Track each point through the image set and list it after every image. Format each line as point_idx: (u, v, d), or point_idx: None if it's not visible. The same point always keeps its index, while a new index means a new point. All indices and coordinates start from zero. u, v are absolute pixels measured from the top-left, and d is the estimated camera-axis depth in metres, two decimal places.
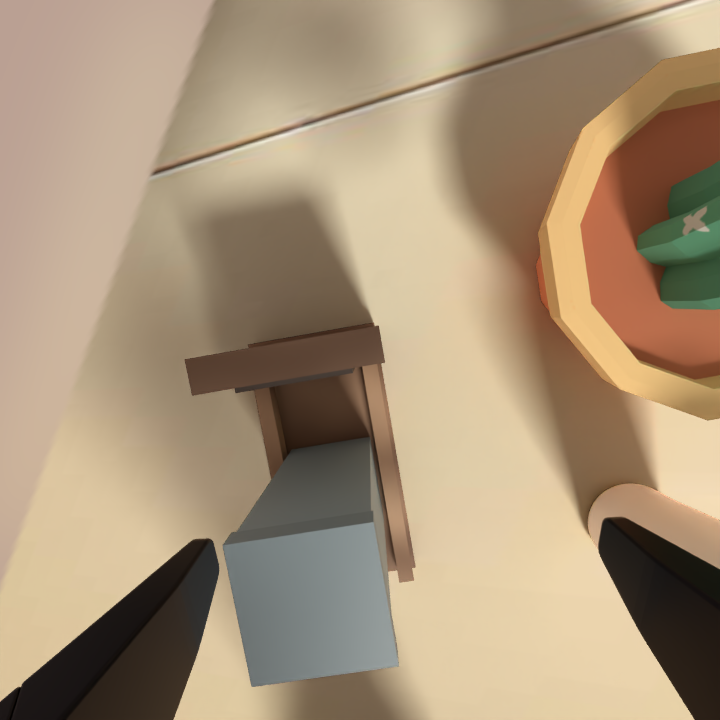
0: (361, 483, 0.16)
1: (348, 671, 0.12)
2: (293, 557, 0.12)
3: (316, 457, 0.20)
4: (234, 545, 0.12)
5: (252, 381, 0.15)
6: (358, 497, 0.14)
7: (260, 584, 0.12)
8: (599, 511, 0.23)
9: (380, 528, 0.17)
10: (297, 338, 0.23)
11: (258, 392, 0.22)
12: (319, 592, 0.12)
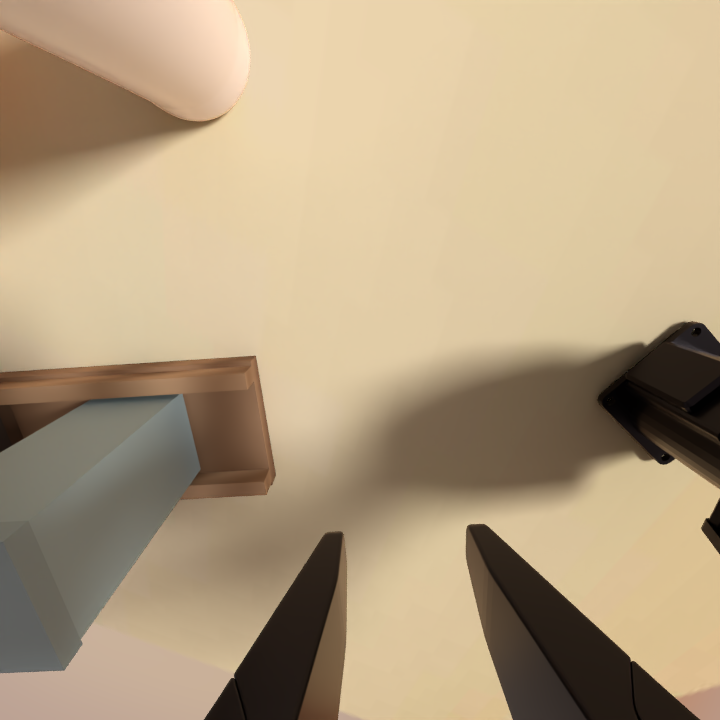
0: None
1: (21, 590, 0.10)
2: None
3: None
4: None
5: None
6: None
7: None
8: (159, 107, 0.16)
9: (66, 450, 0.15)
10: None
11: None
12: None
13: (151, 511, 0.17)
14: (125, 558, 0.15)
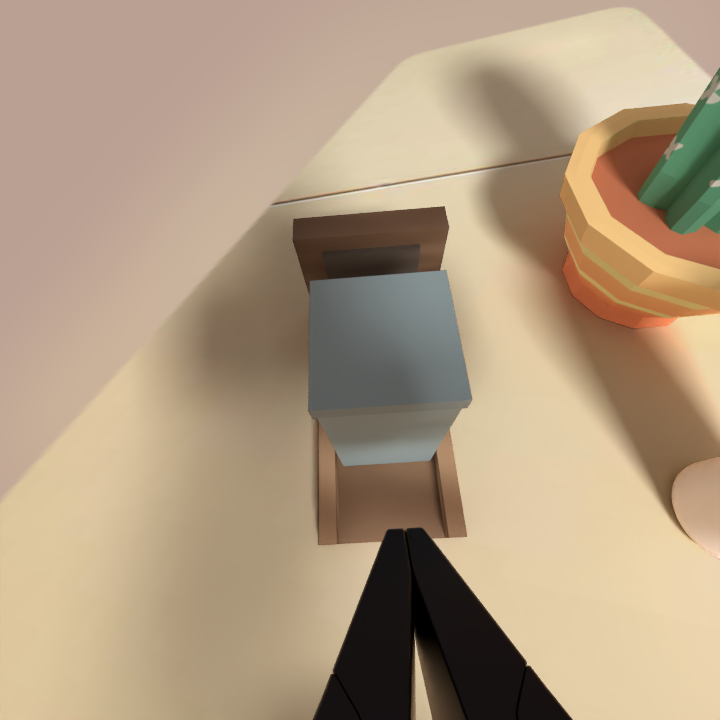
0: None
1: (416, 400, 0.11)
2: (371, 292, 0.13)
3: None
4: (319, 283, 0.14)
5: (342, 233, 0.19)
6: None
7: (337, 313, 0.13)
8: (682, 483, 0.20)
9: None
10: None
11: None
12: (392, 322, 0.13)
13: (358, 446, 0.17)
14: (341, 435, 0.15)
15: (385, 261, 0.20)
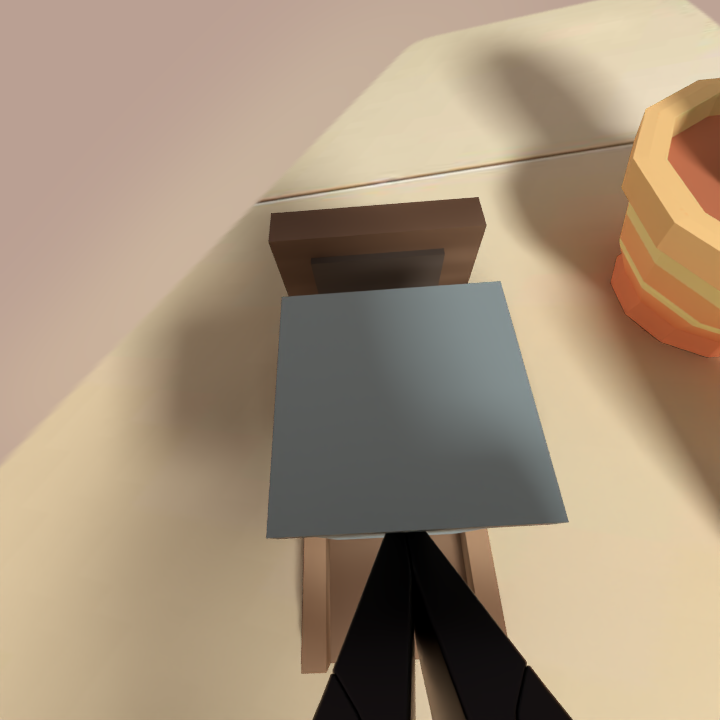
0: None
1: (464, 521, 0.06)
2: (380, 317, 0.08)
3: None
4: (297, 300, 0.09)
5: (337, 232, 0.13)
6: None
7: (323, 352, 0.08)
8: None
9: None
10: None
11: None
12: (415, 369, 0.08)
13: None
14: None
15: (396, 271, 0.15)
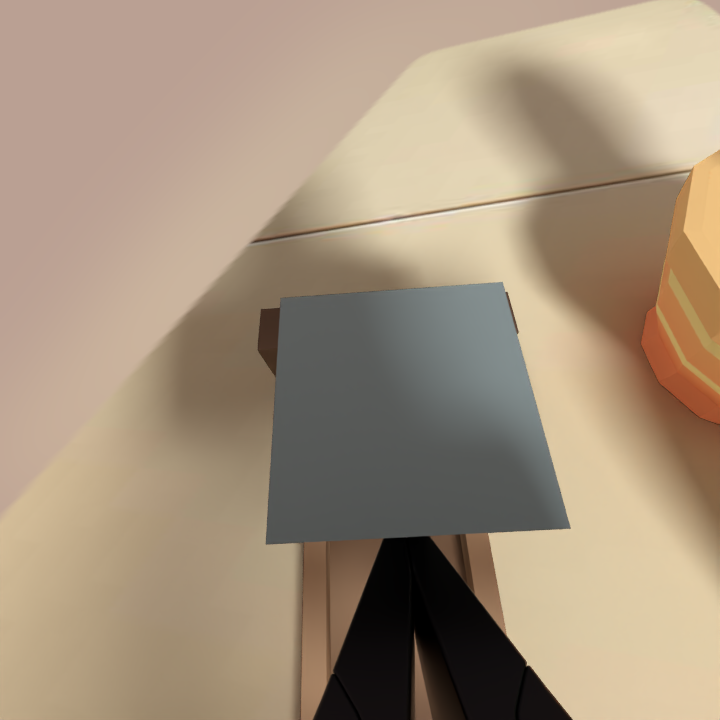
0: None
1: (465, 527, 0.06)
2: (380, 319, 0.08)
3: None
4: (296, 301, 0.09)
5: None
6: None
7: (323, 354, 0.08)
8: None
9: None
10: None
11: None
12: (416, 372, 0.08)
13: None
14: None
15: None
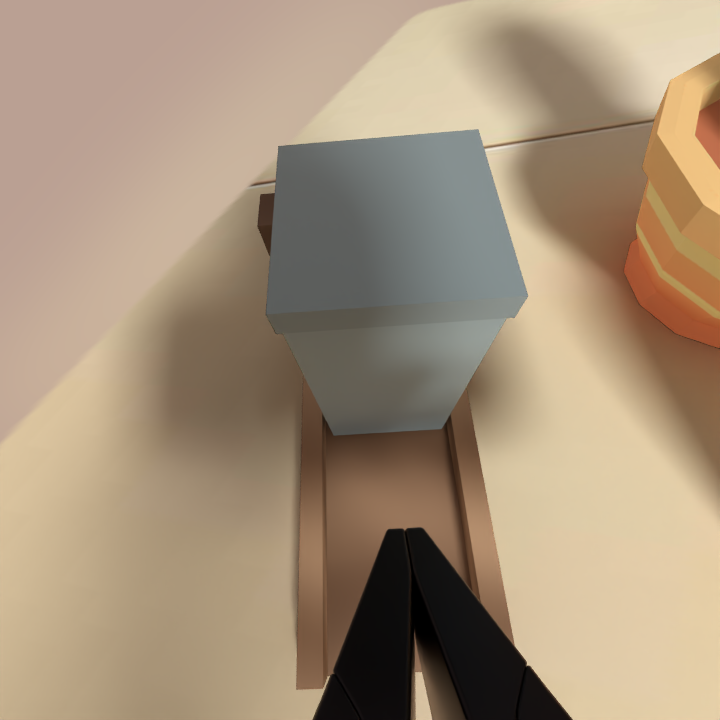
0: None
1: (438, 297, 0.07)
2: (367, 159, 0.09)
3: None
4: (292, 149, 0.10)
5: None
6: None
7: (316, 185, 0.09)
8: None
9: None
10: None
11: None
12: (398, 195, 0.08)
13: (350, 400, 0.12)
14: (325, 377, 0.11)
15: None
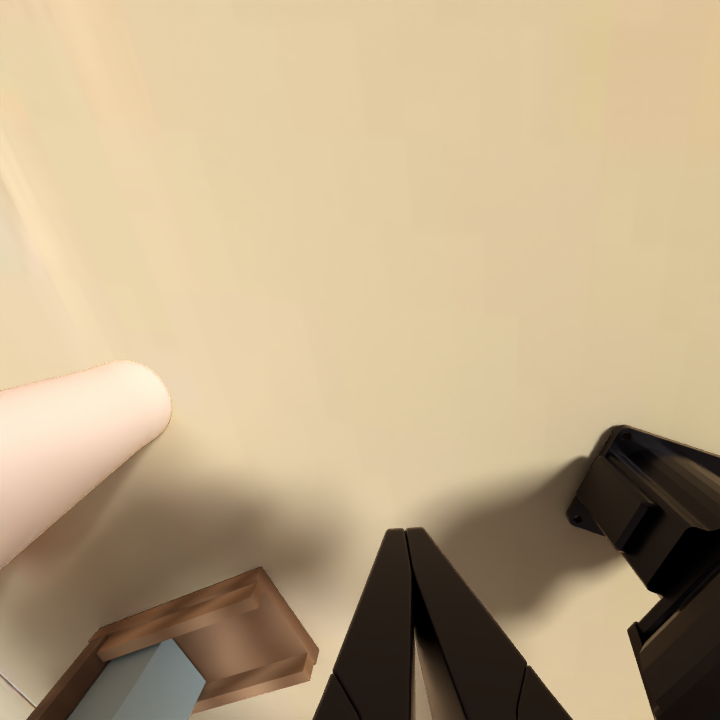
0: None
1: None
2: None
3: None
4: None
5: None
6: None
7: None
8: None
9: None
10: None
11: None
12: None
13: None
14: None
15: None
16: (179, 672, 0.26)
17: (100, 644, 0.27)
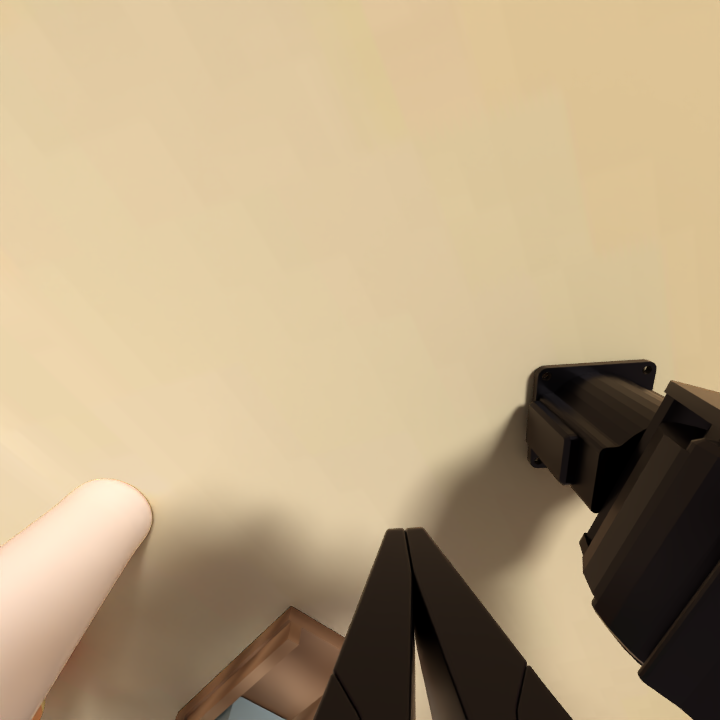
0: None
1: None
2: None
3: None
4: None
5: None
6: None
7: None
8: None
9: None
10: None
11: None
12: None
13: None
14: None
15: None
16: None
17: None
